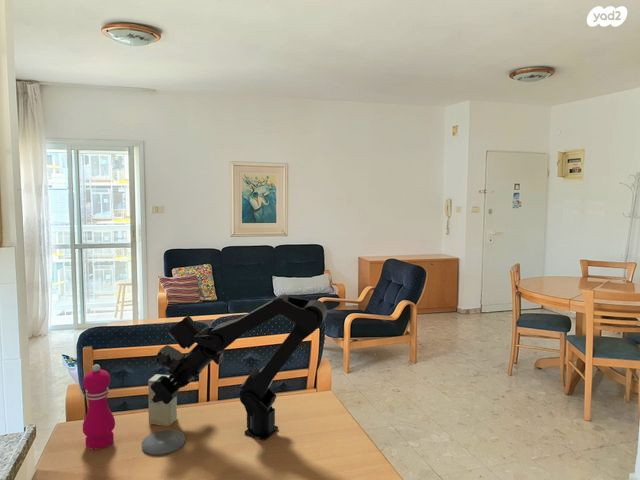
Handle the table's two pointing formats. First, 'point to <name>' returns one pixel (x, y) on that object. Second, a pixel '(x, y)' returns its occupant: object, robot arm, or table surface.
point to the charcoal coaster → (163, 442)
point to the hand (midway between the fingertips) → (157, 397)
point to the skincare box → (161, 407)
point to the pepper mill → (98, 410)
